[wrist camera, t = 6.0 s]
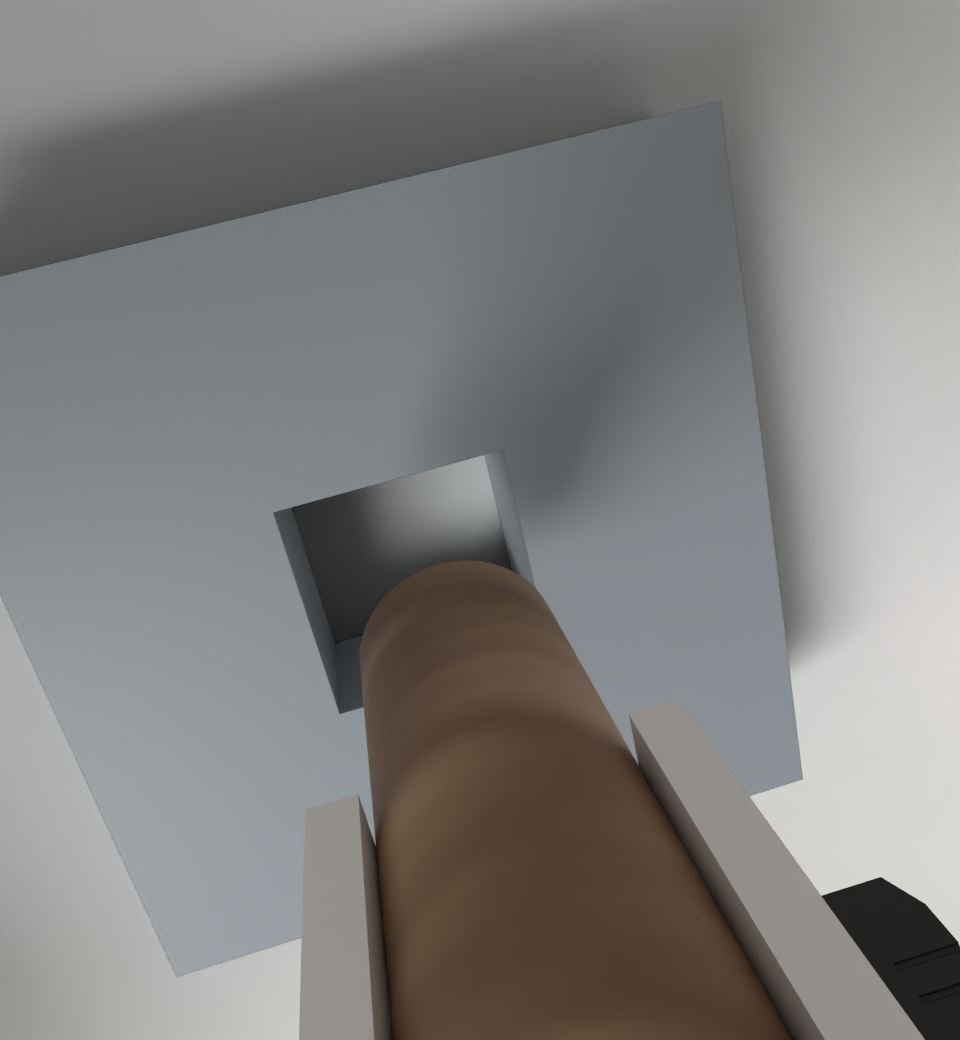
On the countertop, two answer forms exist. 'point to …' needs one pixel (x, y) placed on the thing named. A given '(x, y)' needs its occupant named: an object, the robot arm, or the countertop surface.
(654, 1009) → the peg
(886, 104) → the countertop surface
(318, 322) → the socket board
